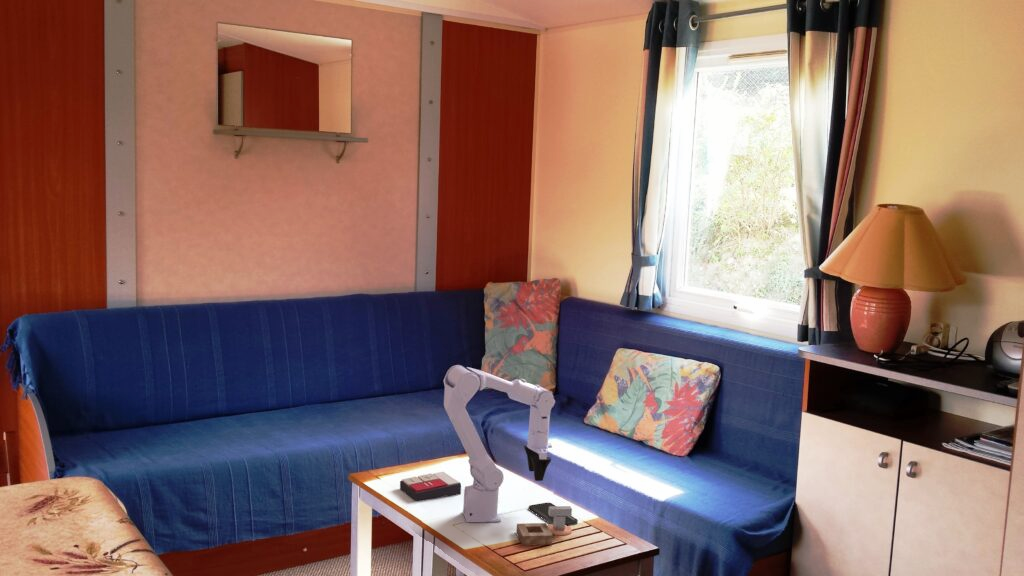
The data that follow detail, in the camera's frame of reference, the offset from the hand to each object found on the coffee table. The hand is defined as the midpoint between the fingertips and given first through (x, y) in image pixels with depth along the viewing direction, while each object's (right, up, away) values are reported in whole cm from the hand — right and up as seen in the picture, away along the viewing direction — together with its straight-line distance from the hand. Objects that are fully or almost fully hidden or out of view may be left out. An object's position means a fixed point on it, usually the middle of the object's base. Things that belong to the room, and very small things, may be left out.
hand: (535, 475), depth 254 cm
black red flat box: (-31, -8, +11) cm, 34 cm away
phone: (+5, -12, -2) cm, 13 cm away
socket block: (-1, -13, -18) cm, 22 cm away
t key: (+6, -12, -11) cm, 18 cm away
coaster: (+6, -12, -11) cm, 18 cm away
